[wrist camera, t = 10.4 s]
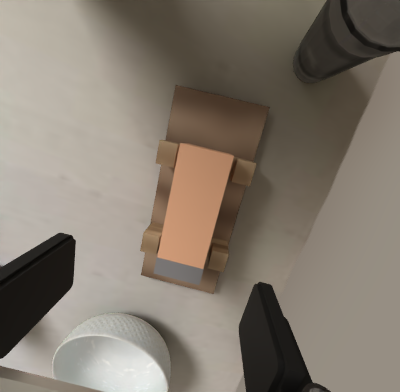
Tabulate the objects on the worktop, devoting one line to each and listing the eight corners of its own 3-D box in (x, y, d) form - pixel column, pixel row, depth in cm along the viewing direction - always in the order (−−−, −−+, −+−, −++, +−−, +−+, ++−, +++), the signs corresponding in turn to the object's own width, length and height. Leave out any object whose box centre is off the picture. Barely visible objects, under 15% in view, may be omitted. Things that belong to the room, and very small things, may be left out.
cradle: (178, 88, 24) (168, 74, 20) (266, 109, 24) (278, 100, 19) (144, 268, 31) (131, 291, 26) (213, 286, 31) (212, 313, 26)
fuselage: (187, 143, 23) (179, 142, 18) (230, 153, 23) (234, 156, 18) (165, 249, 27) (153, 273, 22) (202, 259, 26) (199, 285, 22)
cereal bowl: (77, 355, 37) (45, 403, 30) (89, 282, 33) (55, 318, 26) (164, 383, 37) (152, 437, 30) (188, 313, 33) (181, 358, 26)
